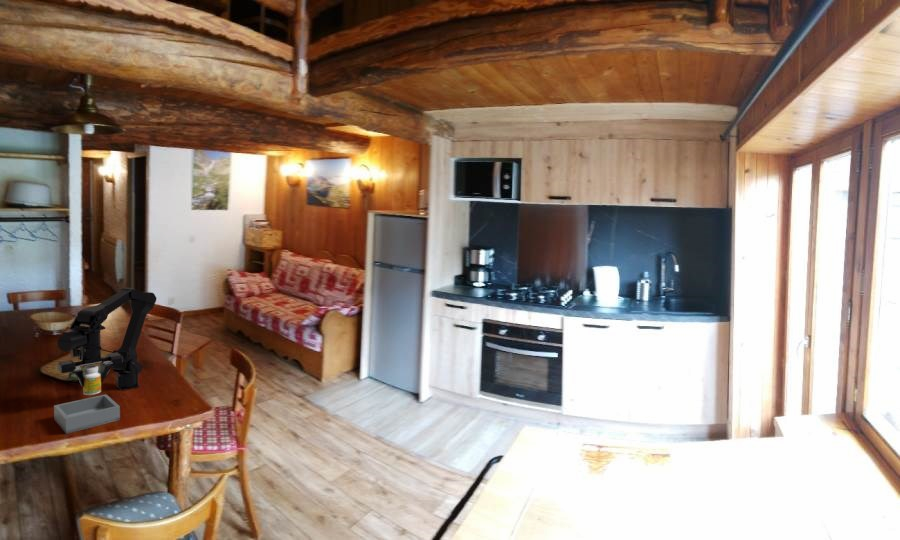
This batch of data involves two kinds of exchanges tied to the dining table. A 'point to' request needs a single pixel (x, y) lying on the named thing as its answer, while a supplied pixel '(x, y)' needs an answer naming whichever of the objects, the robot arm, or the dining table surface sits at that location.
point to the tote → (86, 413)
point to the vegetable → (74, 377)
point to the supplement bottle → (92, 380)
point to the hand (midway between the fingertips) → (92, 384)
